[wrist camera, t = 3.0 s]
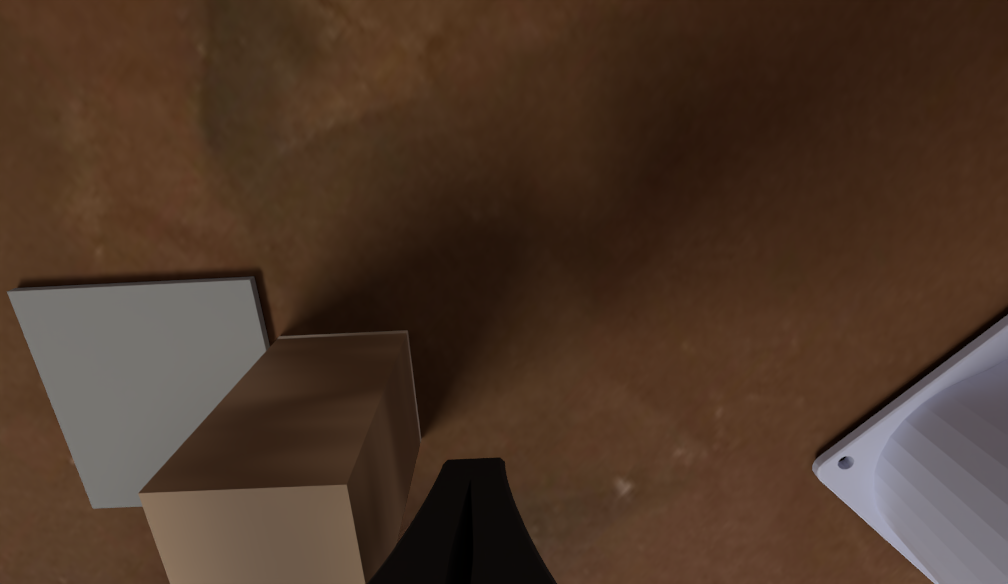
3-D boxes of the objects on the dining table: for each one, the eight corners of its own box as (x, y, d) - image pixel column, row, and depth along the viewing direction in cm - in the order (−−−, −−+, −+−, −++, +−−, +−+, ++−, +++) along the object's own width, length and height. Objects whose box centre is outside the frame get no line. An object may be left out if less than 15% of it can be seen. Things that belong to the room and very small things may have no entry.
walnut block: (407, 330, 17) (347, 484, 10) (421, 438, 18) (375, 635, 12) (279, 336, 17) (137, 493, 10) (302, 444, 18) (190, 642, 12)
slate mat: (253, 276, 16) (249, 279, 16) (302, 493, 19) (299, 499, 19) (15, 287, 16) (6, 291, 16) (98, 502, 19) (92, 508, 19)
